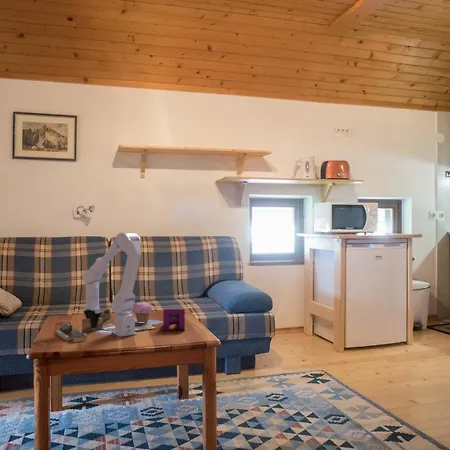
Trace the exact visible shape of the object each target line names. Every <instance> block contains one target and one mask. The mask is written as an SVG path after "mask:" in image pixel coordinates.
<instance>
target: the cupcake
mask: <svg viewBox="0 0 450 450" xmlns="http://www.w3.org/2000/svg"><path fill="white" fill-rule="evenodd" d="M152 310H153V309H152V305H151V303H150V302H149V303H148V302H143V301H140V302H137V303H135V307H134V308H133V312H134V314H135V318H136V322H147V323H148V322H149V316H150V313H152Z"/></svg>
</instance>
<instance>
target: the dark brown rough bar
mask: <svg viewBox="0 0 450 450" xmlns="http://www.w3.org/2000/svg"><path fill="white" fill-rule="evenodd" d="M100 318H102V319H103V323H105V322H106V321H107V320H110V318H111V309H109V308H108V309H107V308H106V310H104V311H103V313H101V315H100Z"/></svg>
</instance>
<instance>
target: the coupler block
mask: <svg viewBox="0 0 450 450" xmlns="http://www.w3.org/2000/svg"><path fill="white" fill-rule="evenodd" d="M103 323H104V322H103V319H102V318H100V317H99V320H98V324H97V328H92V327H91V321H90V318H88V319H86V318H82V319H81V331H82V332H84V333H88V332H89V333H90V332H94V331H93V330H96V331H98V330H97V329H102V328H103V326H104V325H103Z"/></svg>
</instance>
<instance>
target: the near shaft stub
mask: <svg viewBox="0 0 450 450" xmlns="http://www.w3.org/2000/svg"><path fill="white" fill-rule="evenodd" d="M81 331H82V330H80V329H79V330H78V328H77V329H74V328H73V329H72V331H71V332H70V338H71V339H72V343H73V344H74V343H80V342H81V343H83V342H87V338H86V336H85V335H84V333H85V332H84V331H82V332H81ZM83 332H84V333H83Z"/></svg>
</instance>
